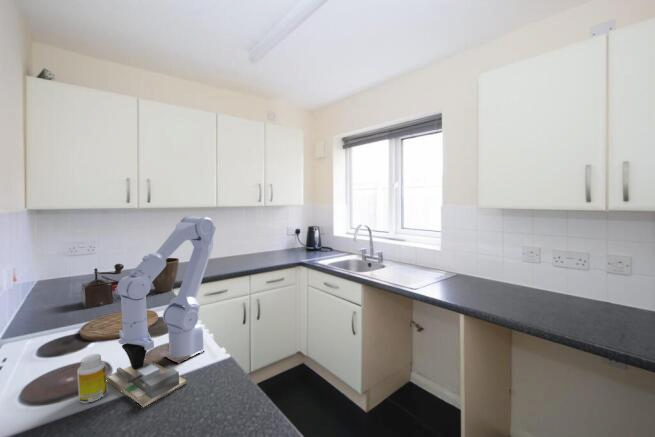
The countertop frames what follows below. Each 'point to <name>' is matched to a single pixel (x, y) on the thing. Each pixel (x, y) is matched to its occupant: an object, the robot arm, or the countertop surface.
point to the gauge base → (150, 388)
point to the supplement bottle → (91, 378)
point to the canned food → (114, 284)
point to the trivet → (109, 326)
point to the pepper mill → (99, 290)
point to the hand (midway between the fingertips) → (137, 367)
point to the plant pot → (167, 276)
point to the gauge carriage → (146, 373)
